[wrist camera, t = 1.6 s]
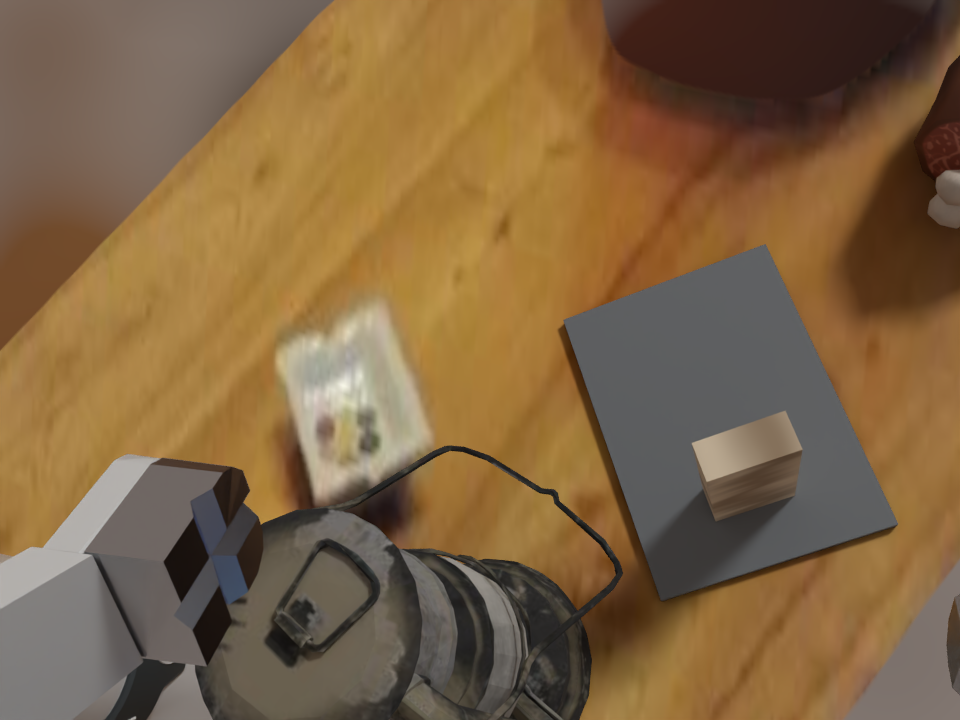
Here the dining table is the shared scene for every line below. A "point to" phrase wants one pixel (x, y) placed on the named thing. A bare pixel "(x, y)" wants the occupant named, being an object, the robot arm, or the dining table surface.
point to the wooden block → (749, 465)
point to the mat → (720, 420)
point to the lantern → (397, 628)
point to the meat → (943, 149)
